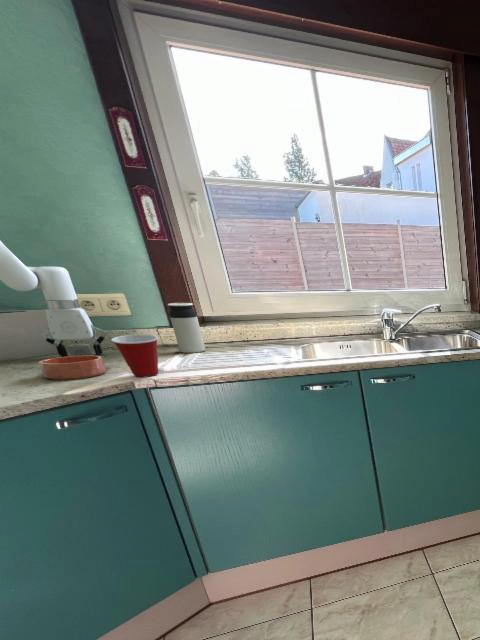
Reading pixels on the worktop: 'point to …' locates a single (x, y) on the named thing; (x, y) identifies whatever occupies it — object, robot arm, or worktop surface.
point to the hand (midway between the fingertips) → (82, 356)
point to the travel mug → (186, 328)
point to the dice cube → (79, 349)
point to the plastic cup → (139, 353)
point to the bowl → (72, 367)
